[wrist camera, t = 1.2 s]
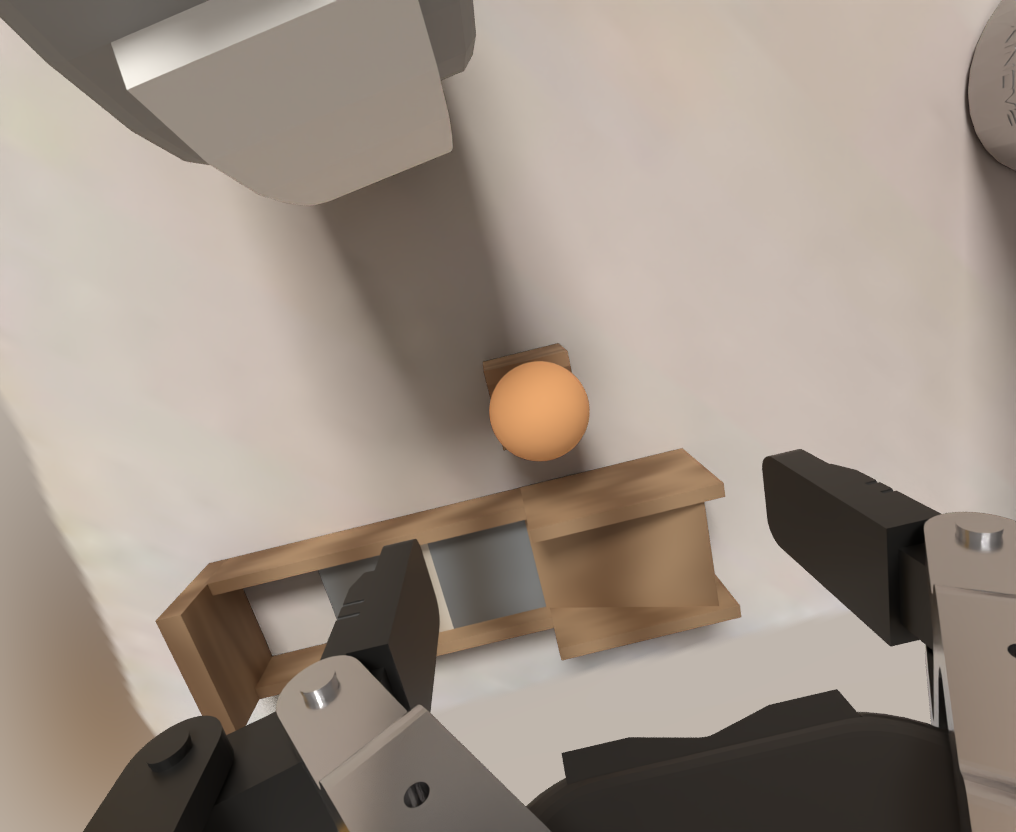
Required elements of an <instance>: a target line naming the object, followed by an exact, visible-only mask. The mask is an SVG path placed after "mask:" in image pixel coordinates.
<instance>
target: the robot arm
mask: <svg viewBox="0 0 1016 832" xmlns="http://www.w3.org/2000/svg"><path fill="white" fill-rule="evenodd" d="M968 97H969V108H970V115H971V119H972V122H973V125H974V128H975V132H976V134H977V136H978V137H979V139H980V141H981V142H982V144H983V146H984V147H985V149H986V150H987V151H988V152H989V153H990V154H991V155H992V156H993V157H994V158H995V159H996V160H997V161H998V162H1000V163H1002V164H1003V165H1005V166H1007V167H1009V168H1011V169H1013V170H1015V171H1016V0H1002V1H1001V2H1000V4H999V5H998V7H997V8H996V10H995V11H994V13H993V14H992V16H991V17H990V19H989V20H988V22H987V24H986V26H985V28H984V31H983V33H982V35H981V37H980V39H979V42H978V44H977V46H976V50H975V54H974V57H973V61H972V65H971V68H970V77H969V87H968ZM762 471H763V481H764V491H765V500H766V510H767V519H768V524H769V528H770V531H771V533H772V535H773V537H774V539H775V541H776V542H777V544H778V545H779V546H780V547H781V548H782V549H783V550H784V551H785V552H786V553H787V554H788V555H790V556H791V557H792V558H793V559H794V560H795V561H796V562H797V563H798V564H800V565H801V566H802V567H803V568H804V569H805V570H806V571H807V572H808V573H810V574H811V575H812V576H813V577H814V578H815V579H816V580H817V581H818V582H819V583H821V584H822V585H823V586H824V587H825V588H826V589H827V590H828V591H829V592H831V593H832V594H833V595H834V596H835V597H836V598H837V599H838V600H839V601H841V602H842V603H843V604H844V605H845V606H846V607H847V608H848V609H849V610H851V611H852V612H853V613H854V614H855V615H856V616H857V617H858V618H859V619H860V620H862V621H863V622H864V623H865V624H866V625H867V626H868V627H869V628H870V629H872V630H873V631H874V632H875V633H876V634H877V635H878V636H879V637H881V638H882V639H883V640H884V641H885V642H886V643H887V644H888V645H889V646H895V645H899V644H903V643H908V642H912V641H916V640H921V641H922V642H923V643H924V644H925V661H926V673H927V684H928V695H929V706H930V717H931V725H930V724H928V723H924V722H920V721H916V720H912V719H909V718H905V717H899V716H893V715H888V714H879V713H869V712H856V710H855V709H854V708H853V707H852V706H851V705H850V704H849V702H848V701H847V700H846V699H845V698H844V697H843V695H842V694H841V693H840V692H839V691H838V690H837V689H836V690H832V691H827V692H823V693H819V694H815V695H810V696H806V697H802V698H797V699H793V700H789V701H784V702H780V703H776V704H772V705H768V706H766V707H764V708H763V709H761V710H759V711H757V712H755V713H753V714H751V715H749V716H747V717H745V718H744V719H742V720H740V721H738V722H736V723H734V724H732V725H730V726H728V727H727V728H725V729H723V730H721V731H719V732H717V733H715V734H713V735H711V736H708V737H702V738H644V737H643V738H641V737H637V738H636V737H635V738H634V737H631V738H630V737H629V738H625V739H621V740H616V741H612V742H607V743H603V744H599V745H594V746H590V747H586V748H581V749H577V750H573V751H568V752H565V753H562V758H563V764H564V770H565V775H566V778H565V779H563V780H561V781H559V782H558V783H556V784H554V785H553V786H551V787H550V788H548V789H547V790H545V791H544V792H542V793H541V794H540V795H538V796H537V797H536V798H535V799H534V800H533V801H532V802H531V803H529V804H528V805H527V806H525V805H524V804H523V803H521V801H519V799H517V797H516V796H514V795H513V794H512V793H511V792H510V791H509V790H508V789H507V788H506V787H505V786H504V785H503V784H502V783H501V782H500V781H499V780H498V779H497V778H496V777H495V776H494V775H493V774H492V773H491V772H490V771H489V770H488V769H487V768H486V767H485V766H484V765H483V764H482V763H481V762H480V761H479V760H478V759H477V758H475V756H474V755H473V754H471V752H470V751H469V750H468V749H467V748H466V747H465V746H464V745H462V744H461V743H460V742H459V741H458V740H457V739H456V738H455V737H454V736H453V735H452V734H451V733H450V732H449V731H448V730H447V729H446V728H445V727H444V726H443V725H442V724H441V723H440V722H439V721H438V720H437V719H436V718H435V717H434V716H433V715H432V714H431V713H430V711H431V701H432V692H433V683H434V674H435V665H436V656H437V647H438V637H439V628H440V615H439V608H438V602H437V598H436V595H435V591H434V588H433V585H432V582H431V578H430V575H429V572H428V569H427V565H426V562H425V559H424V556H423V552H422V549H421V546H420V544H419V542H418V540H417V539H411V540H407V541H403V542H399V543H394V544H390V545H386V546H383V548H382V551H381V553H380V556H379V559H378V562H377V565H376V568H375V570H374V571H369V572H365V573H363V574H362V575H361V576H360V578H359V579H358V580H357V581H356V582H355V583H354V584H353V585H352V586H351V587H350V588H349V591H348V593H347V595H346V598H345V600H344V603H343V607H342V608H341V610H340V612H339V615H338V617H337V618H338V621H336V622H335V625H334V627H333V629H332V632H331V634H330V637H329V639H328V642H327V644H326V647H325V649H324V651H323V654H322V656H321V659H320V661H318V662H316V663H314V664H312V665H310V666H309V667H307V668H305V669H304V670H302V671H301V672H300V673H298V674H297V675H296V676H295V677H294V678H293V679H292V680H291V681H290V682H289V683H288V684H287V685H286V686H285V687H284V689H283V690H282V692H281V693H280V695H279V697H278V700H277V703H276V711H275V712H274V713H272V714H270V715H268V716H266V717H264V718H262V719H260V720H257V721H255V722H253V723H251V724H249V725H247V726H245V727H243V728H240V729H238V730H236V731H234V732H232V733H230V734H228V735H226V733H225V731H224V729H223V727H222V725H221V722H220V721H219V720H218V719H217V718H216V717H213V716H207V715H206V716H198V717H193V718H190V719H187V720H185V721H182V722H180V723H178V724H176V725H174V726H172V727H170V728H168V729H167V730H165V731H164V732H162V733H160V734H159V735H158V736H156V737H155V738H154V739H152V740H151V741H150V742H149V743H147V744H146V745H145V746H144V747H143V748H142V749H141V750H140V751H139V752H138V753H137V754H136V755H135V756H134V757H133V758H132V759H131V760H130V762H129V763H128V765H127V766H126V767H125V769H124V770H123V772H122V773H121V775H120V776H119V778H118V779H117V781H116V782H115V784H114V786H113V787H112V788H111V790H110V792H109V793H108V794H107V796H106V797H105V799H104V801H103V802H102V804H101V805H100V807H99V808H98V810H97V811H96V813H95V814H94V816H93V817H92V819H91V820H90V822H89V823H88V825H87V826H86V828H85V829H84V831H83V832H1016V521H1014V520H1011V519H1008V518H1005V517H1001V516H997V515H992V514H986V513H977V512H952V513H945V514H941V513H939V512H937V511H935V510H933V509H931V508H929V507H927V506H925V505H923V504H921V503H919V502H917V501H915V500H913V499H912V498H910V497H908V496H906V495H904V494H902V493H900V492H898V491H893V490H892V488H890V487H888V486H886V485H884V484H883V483H881V482H879V483H877V481H876V480H875V479H873V478H871V477H869V476H867V475H865V474H863V473H861V472H859V471H857V470H854V469H850V468H846V467H842V466H838V465H834V464H828V463H826V462H824V461H823V460H821V459H819V458H817V457H815V456H813V455H812V454H810V453H808V452H806V451H804V450H802V449H797V450H793V451H789V452H785V453H780V454H776V455H772V456H768V457H765V458H764V460H763V464H762Z"/></svg>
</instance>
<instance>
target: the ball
mask: <svg viewBox="0 0 1016 832" xmlns="http://www.w3.org/2000/svg"><path fill="white" fill-rule="evenodd" d="M489 415H490V422H491V425H492V428H493V431H494V433H495V435H496V437H497V439H498V440H499V442H500V443H501V444H502V445H503V446H504V447H505V448H506V449H507V450H508V451H510V452H511V453H513V454H514V455H516V456H518V457H520V458H523V459H526V460H531V461H548V460H552V459H556V458H558V457H561V456H563V455H564V454H566V453H568V452H569V451H570V450H572V449H573V448H574V447H575V446H576V445H577V444H578V442H579V441H580V440H581V438H582V436H583V435H584V433H585V431H586V428H587V425H588V422H589V401H588V397H587V394H586V392H585V389H584V388H583V386H582V384H581V383H580V381H579V380H578V379H577V378H576V376H574V375H573V374H572V373H571V372H570V371H568V370H567V369H565V368H564V367H562V366H560V365H557V364H554V363H551V362H545V361H534V362H528V363H525V364H522V365H519V366H517V367H515V368H514V369H512V370H510V371H509V372H508V373H507V374H505V375H504V376H503V378H502V379H501V380H500V381H499V382H498V384H497V385H496V387H495V389H494V391H493V394H492V397H491V401H490V408H489Z"/></svg>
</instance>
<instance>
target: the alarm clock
mask: <svg viewBox="0 0 1016 832" xmlns="http://www.w3.org/2000/svg"><path fill="white" fill-rule="evenodd" d="M0 17H1V18H2V19H3V20H4V21H5V22H6V23H7V24H8V25H9V26H10V27H11V28H12V29H13V30H14V31H15V32H16V33H17V34H18V35H19V36H20V37H21V38H22V39H23V40H24V41H25V42H26V43H27V44H28V45H29V46H30V47H31V48H32V49H33V50H34V51H35V52H36V53H37V54H38V55H39V56H40V57H42V58H43V59H44V60H45V61H46V62H47V63H48V64H49V65H50V66H52V67H53V68H54V69H55V70H57V71H58V72H59V73H60V74H61V75H63V76H64V77H65V78H66V79H68V80H69V81H70V82H71V83H73V84H74V85H75V86H76V87H78V88H79V89H80V90H81V91H83V92H84V93H85V94H86V95H88V96H89V97H90V98H91V99H92V100H94V101H95V102H96V103H97V104H99V105H100V106H101V107H102V108H104V109H105V110H106V111H107V112H109V113H110V114H111V115H112V116H114V117H115V118H116V119H117V120H119V121H120V122H121V123H122V124H123V125H125V126H126V127H127V128H128V129H130V130H131V131H132V132H134V133H136V134H138V135H139V136H141V137H143V138H145V139H147V140H148V141H150V142H152V143H154V144H155V145H157V146H159V147H161V148H162V149H164V150H166V151H168V152H169V153H171V154H173V155H175V156H177V157H178V158H180V159H182V160H184V161H187V162H193V163H200V164H206V165H211V166H213V167H214V168H216V169H218V170H219V171H221V172H223V173H224V174H226V175H227V176H229V177H231V178H232V179H234V180H236V181H237V182H239V183H240V184H242V185H244V186H245V187H247V188H249V189H250V190H252V191H254V192H255V193H257V194H258V195H261V196H265V197H268V198H271V199H275V200H278V201H281V202H285V203H289V204H298V205H307V206H313V205H317V204H321V203H325V202H329V201H331V200H334V199H336V198H339V197H341V196H344V195H346V194H349V193H351V192H353V191H356V190H358V189H361V188H363V187H366V186H368V185H371V184H373V183H375V182H378V181H380V180H383V179H385V178H388V177H390V176H393V175H395V174H397V173H400V172H402V171H405V170H407V169H410V168H412V167H415V166H417V165H420V164H422V163H424V162H427V161H429V160H432V159H434V158H437V157H439V156H442V155H444V154H446V153H449V152H451V151H452V149H453V143H452V132H451V125H450V118H449V114H448V109H447V105H446V101H445V97H444V93H443V88H442V84H441V80H443V79H445V78H448V77H450V76H453V75H455V74H457V73H460V72H462V71H464V70H465V68H466V66H467V64H468V62H469V61H470V59H471V57H472V55H473V50H474V43H475V37H476V30H475V19H474V7H473V0H0Z"/></svg>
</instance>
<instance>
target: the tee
mask: <svg viewBox="0 0 1016 832" xmlns="http://www.w3.org/2000/svg"><path fill="white" fill-rule="evenodd" d="M534 361H545V362H551V363H554V364H557V365H560V366H562V367H564V368H565V369H567V370H568V371H570V372H571V373H572V371H571V366H570V361H569V356H568V351H567V350H566V349H565V348H563V347H562V346H561V345H560V344H559V343H557V344H553V345H549V346H545V347H541V348H537V349H533V350H529V351H525V352H521V353H517V354H513V355H508V356H504V357H500V358H496V359H492V360H488V361H484V362H483V370H484V375H485V379H486V383H487V387H488V391H489V395H490V399H491V397H492V394H493V391H494V389H495V387H496V385H497V384H498V382H499V381H500V380H501V379H502V378H503V376H504V375H505V374H507V373H508V372H509V371H510V370H512V369H514V368H515V367H517V366H519V365H522V364H525V363H528V362H534ZM502 446H503V445H502ZM503 450H507V449H506V448H505V447H504V446H503Z"/></svg>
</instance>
